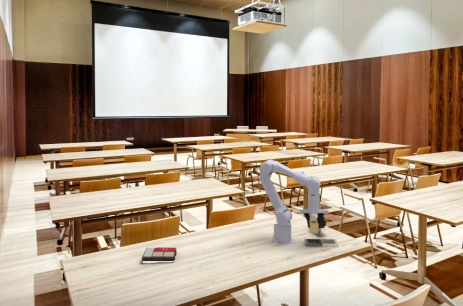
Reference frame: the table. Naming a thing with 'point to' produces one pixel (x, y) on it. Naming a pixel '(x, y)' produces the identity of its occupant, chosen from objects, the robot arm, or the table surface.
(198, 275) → the table surface
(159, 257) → the grey and red box
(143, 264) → the table surface
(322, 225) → the pneumatic valve
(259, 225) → the table surface
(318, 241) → the tray
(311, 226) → the brass cube with hole
